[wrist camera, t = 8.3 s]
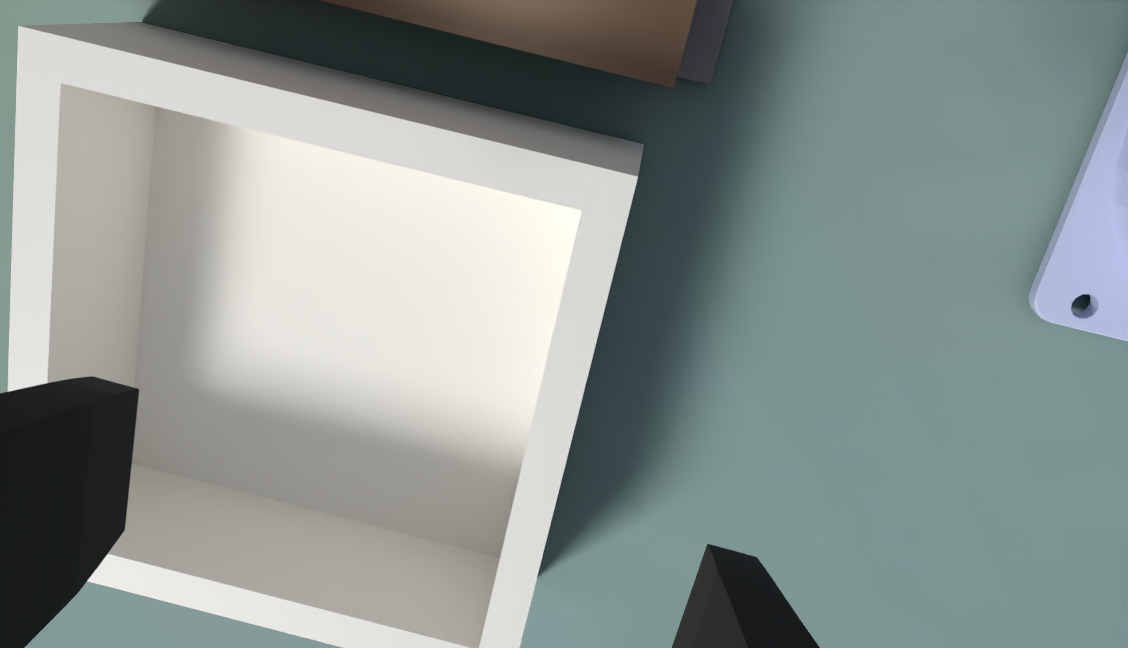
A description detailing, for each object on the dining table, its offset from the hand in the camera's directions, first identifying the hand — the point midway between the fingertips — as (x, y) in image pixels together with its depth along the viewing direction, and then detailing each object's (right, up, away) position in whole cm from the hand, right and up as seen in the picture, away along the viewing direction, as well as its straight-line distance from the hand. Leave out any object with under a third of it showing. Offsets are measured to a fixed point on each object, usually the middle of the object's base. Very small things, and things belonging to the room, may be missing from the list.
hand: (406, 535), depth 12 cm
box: (-3, +3, +10) cm, 11 cm away
